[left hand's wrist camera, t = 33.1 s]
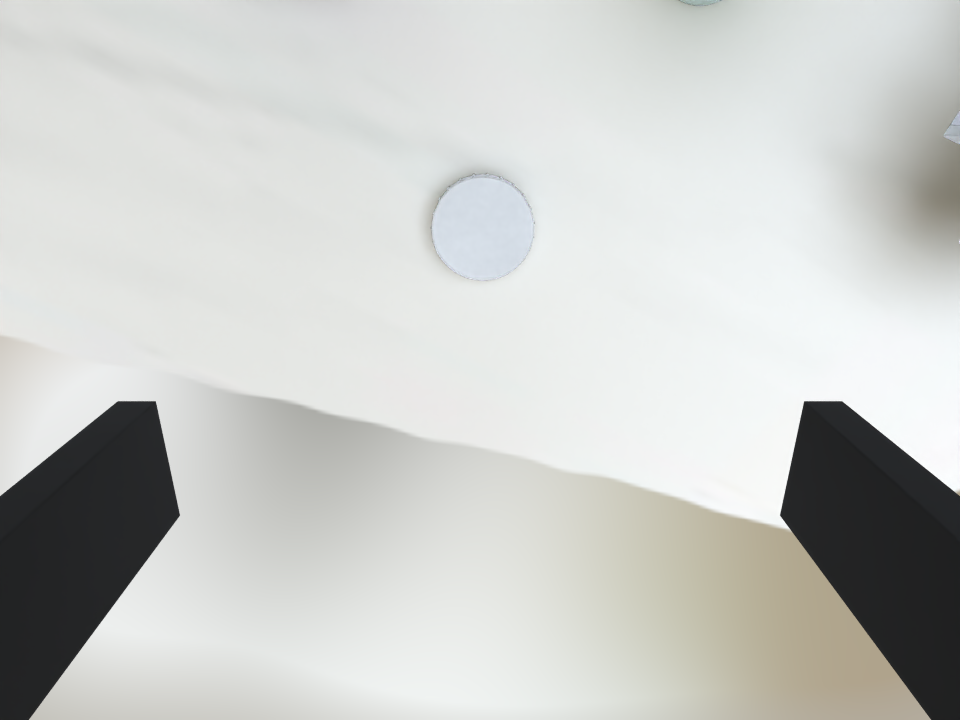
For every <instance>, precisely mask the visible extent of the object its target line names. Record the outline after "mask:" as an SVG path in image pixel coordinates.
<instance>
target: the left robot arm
mask: <svg viewBox="0 0 960 720" xmlns="http://www.w3.org/2000/svg"><path fill="white" fill-rule="evenodd" d="M179 516H180V514H179V509H178V504H177V499H176V495H175V490H174V485H173V481H172V476H171V471H170V466H169V462H168V457H167V452H166V448H165V443H164V438H163V434H162V429H161V424H160V419H159V415H158V410H157V405H156V402H155V401H118V402H117V403H115V404H114V405H113V406H112V407H110V408H109V409H108V410H107V411H105V412H104V413H103V414H102V415H100V416H99V417H98V418H97V419H95V420H94V421H93V422H92V423H90V424H89V425H88V426H87V427H85V428H84V429H83V430H82V431H81V432H79V433H78V434H77V435H76V436H74V437H73V438H72V439H71V440H69V441H68V442H67V443H66V444H64V445H63V446H62V447H61V448H59V449H58V450H57V451H56V452H54V453H53V454H52V455H51V456H50V457H48V458H47V459H46V460H45V461H43V462H42V463H41V464H40V465H38V466H37V467H36V468H35V469H33V470H32V471H31V472H30V473H28V474H27V475H26V476H25V477H23V478H22V479H21V480H20V481H18V482H17V483H16V484H15V485H13V486H12V487H11V488H10V489H9V490H7V491H6V492H5V493H4V494H2V495H1V496H0V720H29V719H30V717H31V716H32V715H33V713H34V712H35V711H36V709H37V708H38V707H39V705H40V704H41V703H42V701H43V700H44V698H45V697H46V696H47V694H48V693H49V692H50V690H51V689H52V688H53V686H54V685H55V684H56V682H57V681H58V680H59V678H60V677H61V675H62V674H63V673H64V671H65V670H66V669H67V667H68V666H69V665H70V663H71V662H72V661H73V659H74V658H75V657H76V655H77V654H78V653H79V651H80V650H81V648H82V647H83V646H84V644H85V643H86V642H87V640H88V639H89V638H90V636H91V635H92V634H93V632H94V631H95V629H96V628H97V627H98V625H99V624H100V623H101V621H102V620H103V619H104V617H105V616H106V615H107V613H108V612H109V611H110V609H111V608H112V607H113V605H114V604H115V602H116V601H117V600H118V598H119V597H120V596H121V594H122V593H123V592H124V590H125V589H126V588H127V586H128V585H129V583H130V582H131V581H132V579H133V578H134V577H135V575H136V574H137V573H138V571H139V570H140V569H141V567H142V566H143V565H144V563H145V562H146V561H147V559H148V558H149V557H150V555H151V554H152V552H153V551H154V550H155V548H156V547H157V546H158V544H159V543H160V542H161V540H162V539H163V538H164V536H165V535H166V534H167V532H168V531H169V529H170V528H171V527H172V525H173V524H174V523H175V521H176V520H177V519H178V517H179ZM780 516H781V517H782V519H783V520H784V521H785V523H786V524H787V525H788V527H789V528H790V529H791V531H792V532H793V534H794V535H795V536H796V538H797V539H798V540H799V542H800V543H801V544H802V546H803V547H804V548H805V550H806V551H807V552H808V554H809V555H810V556H811V558H812V559H813V560H814V562H815V563H816V565H817V566H818V567H819V569H820V570H821V571H822V573H823V574H824V575H825V577H826V578H827V579H828V581H829V582H830V584H831V585H832V586H833V588H834V589H835V590H836V592H837V593H838V594H839V596H840V597H841V598H842V600H843V601H844V602H845V604H846V605H847V607H848V608H849V609H850V611H851V612H852V613H853V615H854V616H855V617H856V619H857V620H858V621H859V623H860V624H861V625H862V627H863V628H864V630H865V631H866V632H867V634H868V635H869V636H870V638H871V639H872V640H873V642H874V643H875V644H876V646H877V647H878V648H879V650H880V651H881V652H882V654H883V655H884V657H885V658H886V659H887V661H888V662H889V663H890V665H891V666H892V667H893V669H894V670H895V671H896V673H897V674H898V675H899V677H900V678H901V680H902V681H903V682H904V684H905V685H906V686H907V688H908V689H909V690H910V692H911V693H912V694H913V696H914V697H915V698H916V700H917V701H918V703H919V704H920V705H921V707H922V708H923V709H924V711H925V712H926V713H927V715H928V716H929V717H930V719H931V720H960V496H959V495H958V494H956V493H955V492H954V491H953V490H951V489H950V488H949V487H948V486H947V485H945V484H944V483H943V482H942V481H940V480H939V479H938V478H937V477H935V476H934V475H933V474H932V473H930V472H929V471H928V470H927V469H925V468H924V467H923V466H922V465H920V464H919V463H918V462H917V461H915V460H914V459H913V458H912V457H911V456H909V455H908V454H907V453H906V452H904V451H903V450H902V449H901V448H899V447H898V446H897V445H896V444H894V443H893V442H892V441H891V440H889V439H888V438H887V437H886V436H884V435H883V434H882V433H881V432H879V431H878V430H877V429H876V428H875V427H873V426H872V425H871V424H870V423H868V422H867V421H866V420H865V419H863V418H862V417H861V416H860V415H858V414H857V413H856V412H855V411H853V410H852V409H851V408H850V407H848V406H847V405H846V404H845V403H843V402H842V401H804V405H803V410H802V415H801V419H800V424H799V429H798V433H797V438H796V443H795V448H794V452H793V457H792V462H791V466H790V471H789V476H788V481H787V485H786V490H785V495H784V499H783V504H782V509H781V514H780Z"/></svg>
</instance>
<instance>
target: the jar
mask: <svg viewBox="0 0 960 720" xmlns="http://www.w3.org/2000/svg"><path fill="white" fill-rule="evenodd" d="M680 1H682V2H684V3H687V4H690V5H696V6H703V5H710V4H713V3H716V2H719V1H721V0H680Z"/></svg>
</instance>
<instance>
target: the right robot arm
mask: <svg viewBox="0 0 960 720" xmlns="http://www.w3.org/2000/svg"><path fill="white" fill-rule="evenodd" d="M943 136H944V137H945V138H947V139H949V140H951V141H953V142H955V143H957V144H959V145H960V111H959V112H958V114H957V115H956V117H955V118H954V120H953V121H952V123H951V124H950V126H949V128H948V129H947V131H946V132H945V134H944V135H943ZM959 242H960V241H959Z"/></svg>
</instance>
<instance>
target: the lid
mask: <svg viewBox="0 0 960 720" xmlns="http://www.w3.org/2000/svg"><path fill="white" fill-rule="evenodd" d="M438 202H439V203H438V205H437V207H436V210H435V209H434V212H433V214H432V215H433V220H432V226H431V229H432V238H433V243H434V246H435V249H436V251H437V253H438V255H439V256H440V258H441V259H442V261H443V262H444V263H445V264H446V265H447V266H448V267H449V268H450V269H451V270H453V271H454V272H455V273H457V274H459V275H461V276H463V277H466V278H469V279H473V280H493V279H497V278H500V277H502V276H505V275H507V274H508V273H510V272H512V271H513V270H514V269H516V268H517V267H518V266H519V265H520V264H521V263H522V261H523V260H524V259H525V257H526V256H527V254H528V252H529V251H530V248H531V245H532V242H533V238H534V224H535V222H534V220H533V216H532V213H531V210H532V209H531V207H530V205H528V203H527V201H526V200H525V196H524V194H523V193H521V192H520V191H519V190H518V189H517V188H516V187H515V185H514V183H512V184H511V183H510V182H508V181H507V180H505V179H503V178H502V177H501V176H500V177H497V176H494V175H489V174H488V173H487V174H478V175H475V174H473V175H472V176H468V177H465V178H463V179H461V178H460V179H459V181H457V182H456V183H454V184H453V185H452V186H449V187H448V188H447V191H446V192H445V193H444V194H443V196H442V197H440V198H439V200H438Z"/></svg>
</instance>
